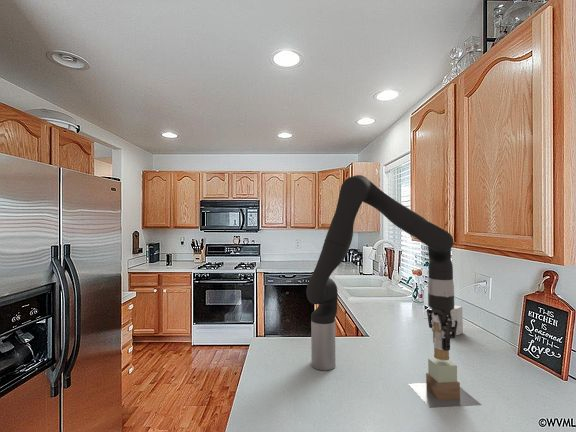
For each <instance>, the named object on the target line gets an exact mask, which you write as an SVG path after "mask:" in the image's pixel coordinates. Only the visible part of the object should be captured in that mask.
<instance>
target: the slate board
mask: <svg viewBox="0 0 576 432" xmlns="http://www.w3.org/2000/svg"><path fill="white" fill-rule="evenodd" d="M408 386H409V387H410V388H411V389H412V390H413V391H414V392H415V394H416V395H418V397H419V398H420V399H421V400H422V401H423V402H424V403H425V405H426V406H427V407H428V408H430V409H434V408H451V407H452V408H453V407H466V406H468V407H470V406H471V407H472V406H481V405H482V403H481V402H479V401H478V400H477V399H475V398H474V397H473V396H471V394H469V393H468V392H467V391H466V390H464V389H463V388H462V387H461V386H460V399H454V400H437V399H436V398H435V397H434V396H433V395H432V394H431V393H430V392H429V391H428V390H427V389H426V382H425V383H422V382H421V383H408Z"/></svg>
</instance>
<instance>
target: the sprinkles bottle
mask: <svg viewBox="0 0 576 432" xmlns="http://www.w3.org/2000/svg"><path fill="white" fill-rule="evenodd" d="M436 316H437V315H433V321H434V343H433V347H434V349H433V350H434V351H433V353H434V354H433V358H436V359H439V360H443V361H445V360H450V350H449V351H444V350H443V349H442V333H441V330H440V329H439V324H438V323H439V321H438V320H437V317H436ZM442 327H443V328H447V326H442ZM445 334H446V330H445Z"/></svg>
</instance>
